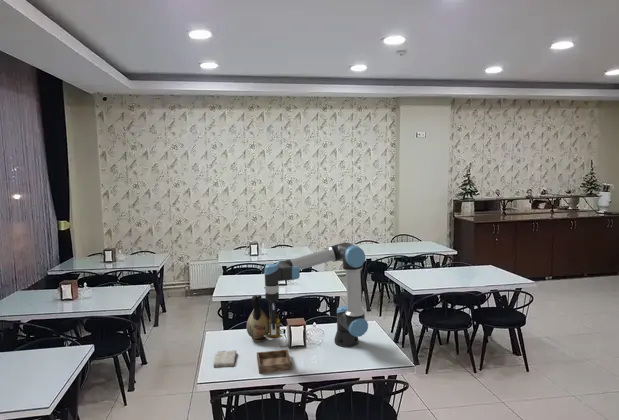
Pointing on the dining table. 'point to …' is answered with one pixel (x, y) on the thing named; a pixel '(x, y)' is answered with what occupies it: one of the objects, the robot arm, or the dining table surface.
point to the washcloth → (225, 358)
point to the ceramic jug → (257, 322)
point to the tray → (274, 361)
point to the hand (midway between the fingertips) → (273, 332)
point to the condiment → (276, 329)
